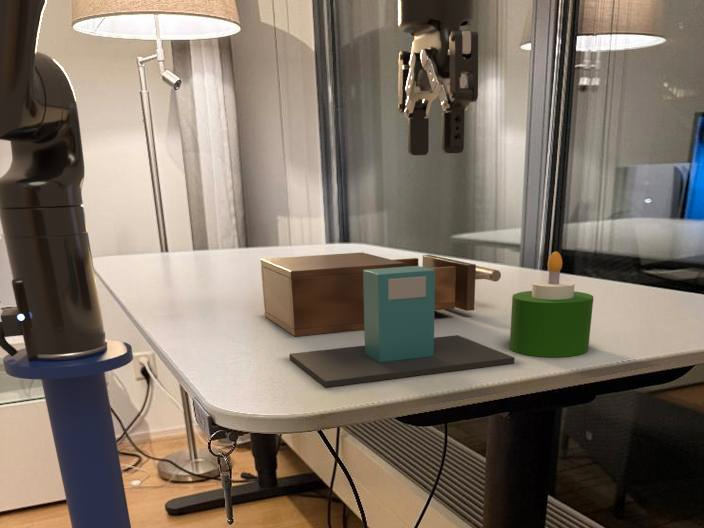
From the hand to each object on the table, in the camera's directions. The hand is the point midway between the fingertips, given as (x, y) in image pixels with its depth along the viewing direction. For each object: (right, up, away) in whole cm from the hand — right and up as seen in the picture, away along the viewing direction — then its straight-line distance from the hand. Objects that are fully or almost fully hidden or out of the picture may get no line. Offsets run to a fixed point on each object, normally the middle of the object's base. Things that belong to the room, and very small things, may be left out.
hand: (434, 154), depth 77 cm
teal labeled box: (-4, -22, -3) cm, 23 cm away
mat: (-4, -23, -3) cm, 23 cm away
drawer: (+1, -11, +22) cm, 24 cm away
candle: (+12, -21, +1) cm, 24 cm away
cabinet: (-12, -14, +18) cm, 25 cm away
